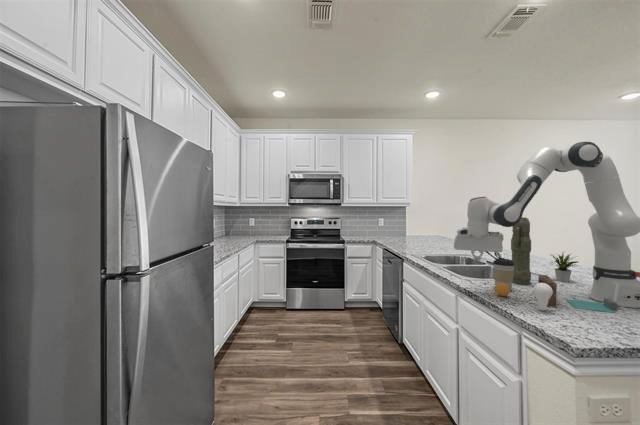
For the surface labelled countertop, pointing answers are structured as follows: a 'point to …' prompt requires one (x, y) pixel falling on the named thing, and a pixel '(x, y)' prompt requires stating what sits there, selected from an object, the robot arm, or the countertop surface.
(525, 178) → the robot arm
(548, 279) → the bridge
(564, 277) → the house plant
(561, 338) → the countertop surface
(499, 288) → the ball
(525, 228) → the thermos
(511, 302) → the countertop surface
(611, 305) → the stopper wall
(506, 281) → the coffee cup
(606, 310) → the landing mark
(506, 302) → the countertop surface
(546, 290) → the lightbulb
